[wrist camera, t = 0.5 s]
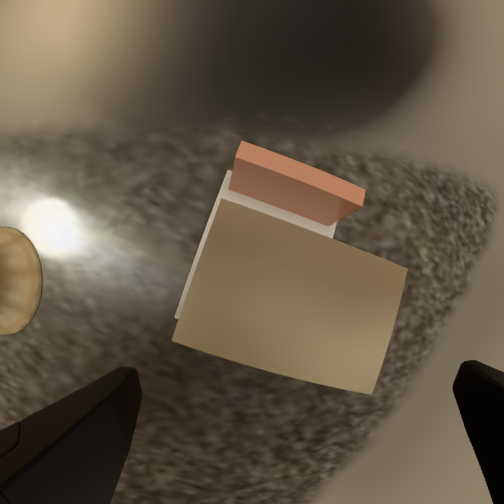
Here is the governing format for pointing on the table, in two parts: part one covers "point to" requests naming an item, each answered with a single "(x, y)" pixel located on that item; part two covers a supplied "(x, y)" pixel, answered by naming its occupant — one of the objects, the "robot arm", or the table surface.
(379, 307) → the tan tall block
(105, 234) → the table surface
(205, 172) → the table surface
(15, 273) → the hand bell
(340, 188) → the base
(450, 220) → the table surface
